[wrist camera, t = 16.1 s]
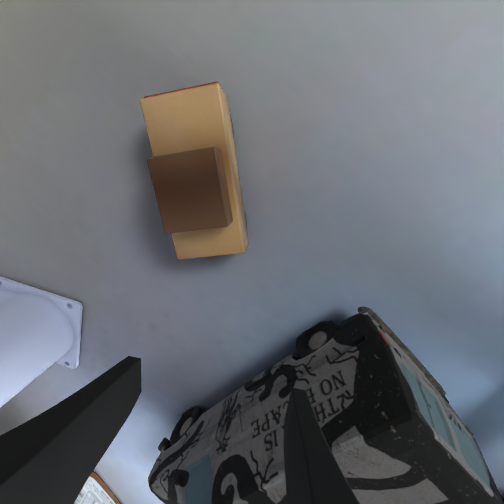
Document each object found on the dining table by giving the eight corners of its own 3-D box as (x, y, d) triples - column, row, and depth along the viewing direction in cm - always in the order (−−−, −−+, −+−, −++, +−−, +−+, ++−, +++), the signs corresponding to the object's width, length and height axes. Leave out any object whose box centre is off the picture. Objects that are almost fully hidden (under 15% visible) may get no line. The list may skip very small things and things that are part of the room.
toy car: (165, 422, 26) (102, 560, 17) (357, 289, 19) (430, 396, 10) (233, 479, 28) (209, 635, 19) (434, 374, 21) (560, 538, 12)
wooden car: (250, 241, 19) (240, 261, 15) (192, 247, 20) (166, 268, 15) (229, 96, 16) (209, 65, 12) (163, 109, 17) (120, 84, 13)
